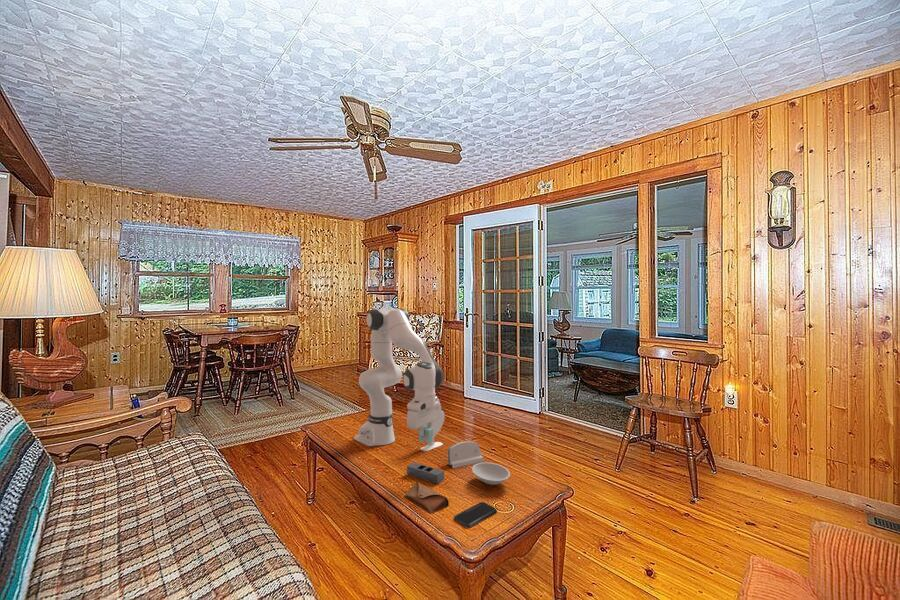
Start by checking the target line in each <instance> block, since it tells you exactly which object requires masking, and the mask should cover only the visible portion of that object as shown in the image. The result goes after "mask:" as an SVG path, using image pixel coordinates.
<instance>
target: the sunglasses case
mask: <svg viewBox="0 0 900 600" xmlns="http://www.w3.org/2000/svg"><path fill="white" fill-rule="evenodd" d="M403 497H404V498H406V499H408V500H410V501H412V502H414V503H415V504H417V505H418V506H420V507H422V509H425V510H426V511H427V512H429V513H430V514H434V513H435V512H438V511H440V510H443V509H444V508H447V507H449V504H450V501H449V499H448V498H447V497H446V496H444V495H442V494H440V493H438V492H437V491H435V490H433V489H432V488H429V487H428V486H425V485H423V484H422V483H420V482H418V481H416V483H415V484H414V485H413V486H412V487H411V488H410V489H409V490H408V491H407V492H406V494H405V495H404V494H403Z"/></svg>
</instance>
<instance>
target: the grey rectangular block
mask: <svg viewBox="0 0 900 600" xmlns="http://www.w3.org/2000/svg"><path fill="white" fill-rule="evenodd" d="M406 475H408V476H411V477H414V478H416V479H417V478H418V479H420V480H424V481H426V482H429V483H434V484H437V485H438V484H440V483H441V482H442V481H444V480H445V470H442V469H439V468H436V467H432V466H428V465H425V464H422V463H418V462H416V461H415V462H414V461H413V462H412V463H410V464H408V465H407V466H406Z"/></svg>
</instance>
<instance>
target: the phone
mask: <svg viewBox="0 0 900 600" xmlns="http://www.w3.org/2000/svg"><path fill="white" fill-rule="evenodd" d="M497 512H498V511H497V508H496V507H494V506H492V505H490V504H489V503H486V502H484V501H481V502H478V503H477V504H475V505H473V506H471V507H469V508H466V509H465V510H462V511H461V512H459V513H457V514H454V516H453V520H454V521H455V522H457V523H458V524H460V525H461V526H463V527H465V528H467V529H470V528H472V527H474V526H475V525H478V524H480V523H481V522H483V521H485V520H487V519H488V518H490V517H492V516H494V515H496V514H497Z"/></svg>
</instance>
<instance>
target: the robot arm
mask: <svg viewBox="0 0 900 600" xmlns="http://www.w3.org/2000/svg"><path fill="white" fill-rule="evenodd" d="M366 325H367V327H368V328H369V329H370V330H371V335H370V336H371V337H370V355H371V358H372V359H374V361H377V364H378V366H377V367H375V368H369V369H367V370H365V371H362V372H361V373H360V375H359V377H358V385H359V387H360V388H361V389H362V390H364V392H365V393H366V394H367V395H368V397H369V404H370V413H369V414H368V415H366V417H367V418H368V419H367V421H366V422H364V423H363V424H362V425H361V426H360V427H359V429H358V434H356V435H354V437H353V440H354V441H357V442H359V443H360V444H363V445H365V446H366V447H367V446H368V447H375V446H385V445H389V444H393V443H394V442H395V441H396V437H395V433H394V427H393V419H394V413H393V403H392V402H393V401H392V398H391V397H390V396H389V395H387V394H386V392H385V388H389V387H392V386H394V385H397V384H399V383H400V382H401V381H402V384H403V386H404V388H406V389H407V390H409V391H414V397H413V398H412V399H411V400H410V401H409V402H408V403H407V404H406V409H407V410H408V411H407V413H406V425H407V428H408V429H410V430H414V431H415V430H418V429H419V431H420V436H423V435H425V431H424V430H423V428H424V425H426V424H427V427H428V428H431V427H432V424H433V421H434V420H436V419H438V418H440V417H441V410H442V404H441V402H440V398H439V397H438V396H436V391H435V389H438V388H439V387H440V386H441V385H442V383H443V382H444V379H445V378H444V372H443V369H441V367H440V365H439V364H437V362H436V359H435V358H434V356H433V355H432V352H431V351H430V349H429V348H428V346H427V344H426V342H425V341H424V339H423V338H422V337H420V336H419V335H417V333H416V332H415V331H414V330H413V327H412V326H411V323H410V314H409V312H408V310H407V309H404V308H400V307H399V308H392V307H390V308H389V307H388V308H380V309H377V308H375V309H371V310H369V311H368V313H367V315H366ZM393 345H394V346H395V347H397V348H399V349H401V350H407V351H410V352H414V353H415V354H417V355H418V357H420V360H421V361H420V362H417V363H416V364H415V366H413V367H411V368H407V369H406V370H405V371H404V373H403V372H402V370H401V368H400V367H399V366H398V365H397V364H396V362H395V359H394V356H393Z"/></svg>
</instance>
